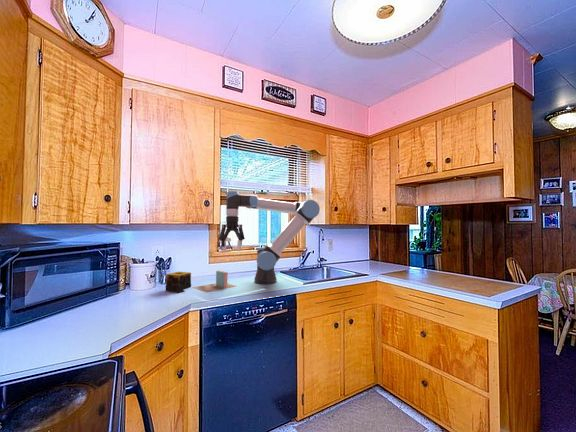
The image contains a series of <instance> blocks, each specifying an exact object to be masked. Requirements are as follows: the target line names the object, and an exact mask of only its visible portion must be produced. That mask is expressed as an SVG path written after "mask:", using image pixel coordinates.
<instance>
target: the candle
mask: <svg viewBox="0 0 576 432" xmlns="http://www.w3.org/2000/svg"><path fill="white" fill-rule="evenodd" d="M165 276H166V279H165V281H166V282H165V292H168V293H169V292H170V293H174V294H175V293H176V294H181V293H183V292H185V290H186V289H189V288H191V287H192V272H187V271H173V272H170V273H165Z"/></svg>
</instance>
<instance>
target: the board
mask: <svg viewBox="0 0 576 432" xmlns="http://www.w3.org/2000/svg"><path fill="white" fill-rule="evenodd" d="M191 287H192V286H191ZM192 288H193V289H196V290H198V291H201V292H204V293H206V294H207V293H212V292H216V291H221V290H225V289H230V288H237V285H235V284H232V283H228V282H227V288H222V287H219V286H216V282H215V283H209V284H204V285H199V286H193V287H192Z"/></svg>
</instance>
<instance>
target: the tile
mask: <svg viewBox="0 0 576 432" xmlns="http://www.w3.org/2000/svg"><path fill="white" fill-rule="evenodd" d="M215 272H216V273H215V283H216V286H219V287H222V288H227V283H228V275H229V274H228V272H227V271H223V270H216V271H215ZM227 289H228V288H227Z"/></svg>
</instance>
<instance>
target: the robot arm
mask: <svg viewBox="0 0 576 432" xmlns="http://www.w3.org/2000/svg"><path fill="white" fill-rule="evenodd" d="M240 207H241V208H243V207H245V208H246V209H253V210H255V209H256V210H262V211H267V212H268V211H270V212H276V213H277V212H278V213H283V214H289V215H290V214H291V215H293V216H294V217H293V218H292V219H291V220H290V221H289V222H288V223H287V224H286V226H285V227H284V228H283V229H282V230H281V231H280V233H279V234H278V235H277V236H276V238H275V239H274V240H273V241H272V242H271V243H270V244H266V245H265V246H264V247H257V249H256V253H257V255H256V271H255V272H256V273H255V275H254V276H255V277H254V278H253V280H254V283H256V284H263V285H266V284H274V283H277V280H278V279H277V276H276V275H277V274H276V272H275V266H276V264H277V262H278V261H279V260H280V258H282V253H283V251H284V250H285V249H286V247H288V246H289V244H290V243H291V242H292V241H293V239H294V238H295V237H296V236H297V235H298V234H299V232H301V230H302V229H303V227H305V225H309V224H311V222H312V221H313V220H314V219H315V218H317V216H319V214H320V211H321V209H320V208H321V207H320V205H319V203H318V202H317V201H316V200H313V199H307V200H305V201H295V202H289V201H288V202H287V201H282V200H281V201H280V200H274V199H267V198H259V197H258V195H257V194H240V192H239V191H238V190H237V191H236V190H235V191H234V190H229V191H227V192H226V209H225V210H226V217H225V220H226V221H225V222H226V224H221V229H220V232H219V236H218V237H219V238H218V241H220V242H221V247H222V253H226V252H227V241H226V240H227V238H228V236H229V234H230V233H231V232H234V233H235V235H236V238H237V239H238V240H237V251H238V252H241V251H242V245H243V241H244V240H246V238H245V235H244V230H243V224H239V212H240V211H239V210H240V209H239V208H240Z"/></svg>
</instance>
